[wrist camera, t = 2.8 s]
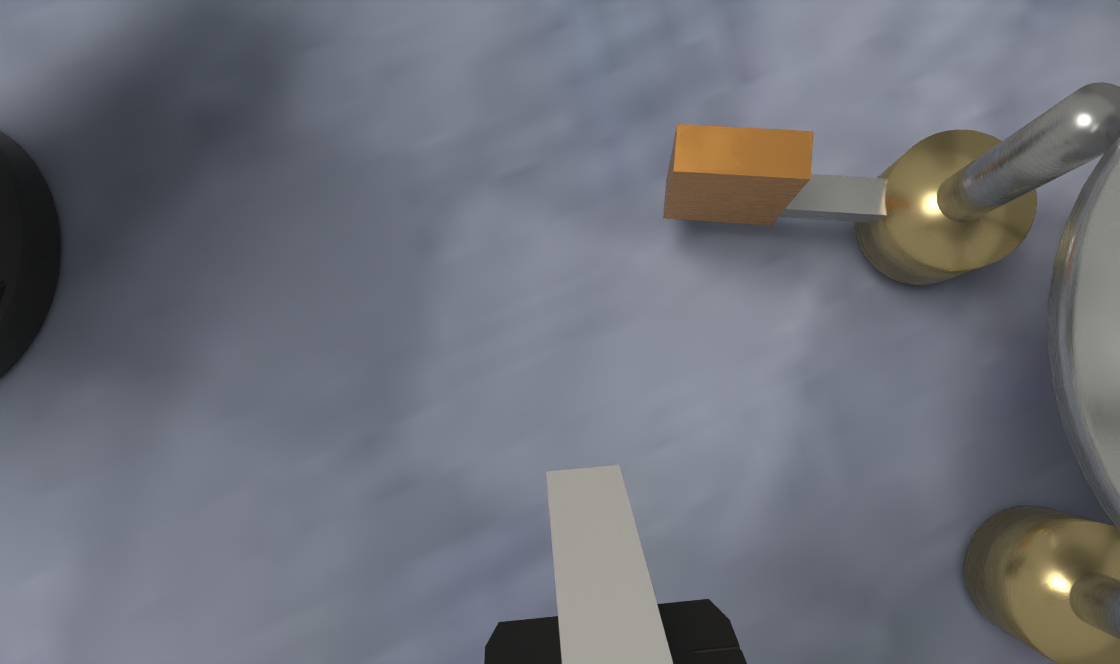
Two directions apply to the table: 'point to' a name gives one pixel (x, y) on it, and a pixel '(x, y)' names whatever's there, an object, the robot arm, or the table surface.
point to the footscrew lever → (897, 185)
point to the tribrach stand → (1097, 442)
